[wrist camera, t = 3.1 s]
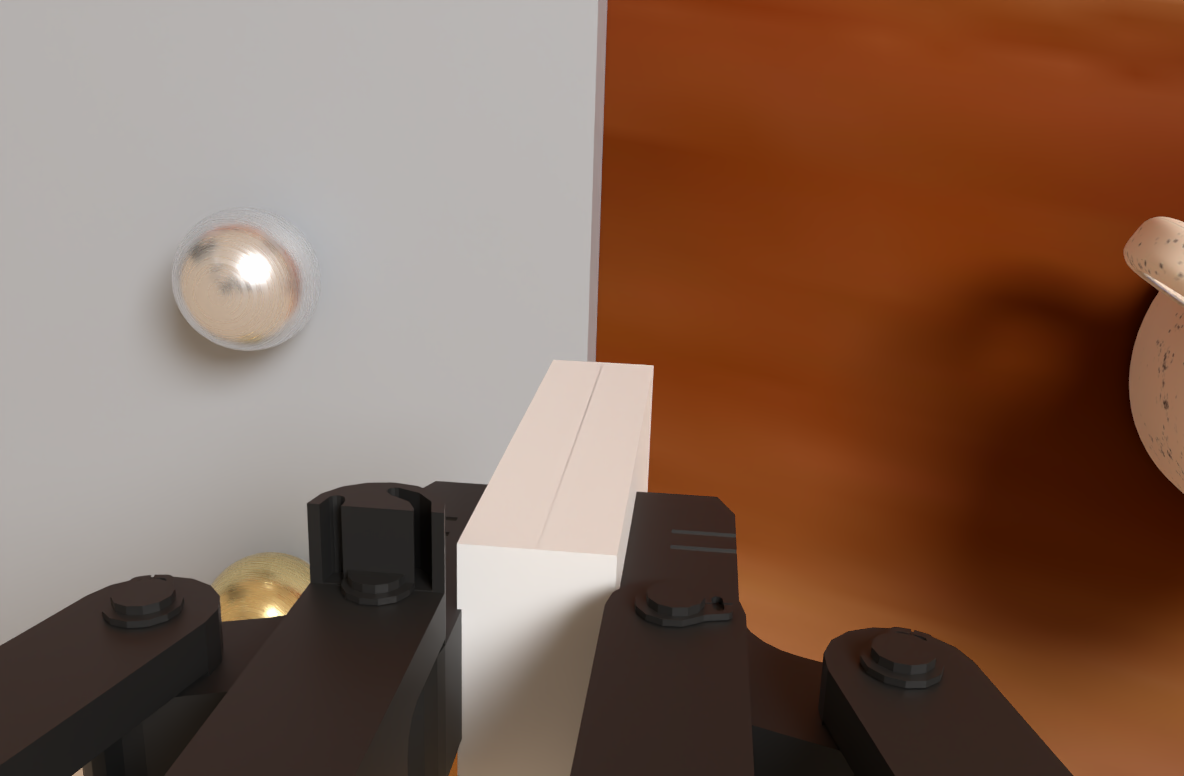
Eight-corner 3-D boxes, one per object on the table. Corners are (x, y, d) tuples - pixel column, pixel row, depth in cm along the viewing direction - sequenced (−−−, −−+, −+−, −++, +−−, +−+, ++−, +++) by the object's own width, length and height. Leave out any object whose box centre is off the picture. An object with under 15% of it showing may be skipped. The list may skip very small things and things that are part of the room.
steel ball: (213, 327, 29) (151, 363, 26) (203, 195, 28) (138, 215, 24) (342, 334, 28) (296, 372, 25) (337, 200, 27) (288, 221, 24)
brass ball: (235, 637, 31) (182, 705, 28) (227, 526, 30) (171, 584, 27) (353, 646, 31) (313, 716, 28) (349, 535, 30) (307, 594, 27)
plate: (-285, 590, 36) (-355, 630, 33) (-475, -254, 29) (-582, -280, 26) (585, 658, 33) (576, 705, 31) (615, -241, 26) (606, -269, 24)
